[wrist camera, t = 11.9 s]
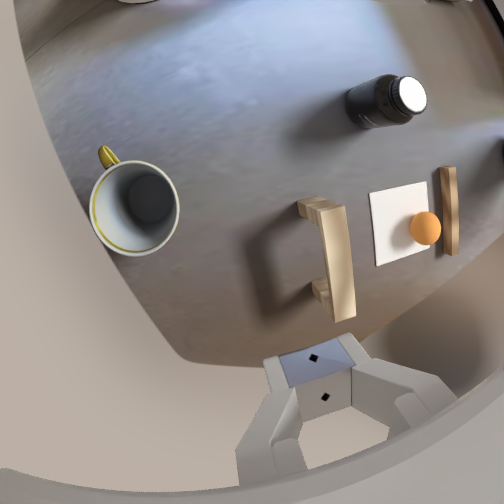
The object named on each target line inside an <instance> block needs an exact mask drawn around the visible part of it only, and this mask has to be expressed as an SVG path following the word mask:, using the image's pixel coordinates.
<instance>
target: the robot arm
mask: <svg viewBox="0 0 504 504" xmlns="http://www.w3.org/2000/svg"><path fill="white" fill-rule="evenodd" d="M119 1H122V2H127V3H142V2H148V1H153V0H119ZM263 365H264V369H265V372H266V376H267V380H268V384H269V387H270V391H271V394H267V395H266V397H265V399H264V400H263V402H262V404H261V406H260V408H259V410H258V411H257V413H256V415H255V417H254V418H253V420H252V422H251V424H250V426H249V427H248V429H247V431H246V432H245V434H244V436H243V437H242V439H241V441H240V442H239V444H238V446H237V447H236V449H235V452H236V461H237V469H238V477H239V486H233V487H226V488H218V489H209V490H198V491H183V492H131V491H116V490H105V489H96V488H89V487H82V486H76V485H70V484H65V483H60V482H55V481H51V480H47V479H42V478H39V477H35V476H31V475H28V474H24V473H21V472H18V471H15V470H12V469H8V468H2V469H0V504H504V365H503V366H501V367H500V368H499V369H498V370H497V371H495V372H494V373H493V374H492V375H491V376H489V377H488V378H487V379H485V380H484V381H483V382H481V383H480V384H479V385H478V386H476V387H475V388H474V389H472V390H471V391H469V392H468V393H467V394H465V395H464V396H462V397H461V398H459V399H458V398H457V397H456V396H455V395H454V394H453V393H452V392H451V390H450V389H449V388H448V387H447V386H446V385H445V384H444V383H443V382H442V381H441V380H440V378H439V377H437V376H436V375H432V374H428V373H425V372H421V371H418V370H414V369H411V368H407V367H403V366H400V365H397V364H394V363H390V362H387V361H383V360H381V359H377V358H374V359H371V358H370V357H369V356H368V354H367V353H366V352H365V350H364V349H363V348H362V346H361V345H360V344H359V343H358V341H357V340H356V339H355V338H354V336H353V335H352V334H351V333H349V332H348V333H346V334H343V335H340V336H338V337H335V338H333V339H330V340H327V341H325V342H322V343H319V344H316V345H312V346H309V347H306V348H302V349H299V350H295V351H292V352H288V353H284V354H280V355H278V356H274V357H270V358H266V359H263ZM349 406H352V407H353V408H355V409H357V410H359V411H361V412H362V413H364V414H366V415H368V416H370V417H372V418H373V419H375V420H377V421H379V422H381V423H383V424H385V425H387V426H389V427H390V428H389V433H388V437H387V440H386V441H383V442H381V443H379V444H377V445H375V446H372V447H370V448H368V449H365V450H363V451H361V452H358V453H356V454H353V455H350V456H348V457H345V458H343V459H340V460H337V461H334V462H331V463H329V464H325V465H322V466H319V467H316V468H313V469H310V470H308V469H307V466H306V463H305V461H304V457H303V455H302V451H301V449H300V446H299V443H298V437H299V434H300V431H301V428H302V425H303V422H306V421H309V420H312V419H315V418H317V417H320V416H323V415H326V414H329V413H331V412H335V411H338V410H341V409H344V408H346V407H349Z"/></svg>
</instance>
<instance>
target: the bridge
mask: <svg viewBox="0 0 504 504" xmlns="http://www.w3.org/2000/svg"><path fill="white" fill-rule="evenodd" d="M297 205H298V210H299V215H301V216H302V217H304V218H306V219H307V220H309V221H311V222H312V223H314V224H315V225H317V226H319V227H320V233H321V240H322V246H323V253H324V259H325V266H326V273H327V277H325V278H322V279H318V280H315V281H312V282H311V283H312V289H313V294H314V295H315V296H316V298H317V299H318V300H319V302H320V303H321V304H322V306H323V307H324V308H325V310H326V311H327V312H328V314H329V315H330V316H331V318H332V319H333V320H334V322H335V323H336V322H339V321H342V320H345V319H348V318H351V317H353V316H356V306H355V292H354V280H353V269H352V259H351V250H350V241H349V233H348V226H347V218H346V211H345V206H343V205H341V204H338V203H335V202H332V201H329V200H326V199H323V198H320V197H317V196H316V197H311V198H307V199H303V200H299V201H297Z"/></svg>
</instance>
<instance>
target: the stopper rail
mask: <svg viewBox="0 0 504 504" xmlns="http://www.w3.org/2000/svg"><path fill="white" fill-rule="evenodd" d="M439 170H440V179H441V191H442V206H443V252H444V253H446V254H448V255H450V256H453V255H455V254H458V245H459V212H458V190H457V177H456V167H450V166H444V167H439Z"/></svg>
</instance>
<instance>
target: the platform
mask: <svg viewBox="0 0 504 504" xmlns="http://www.w3.org/2000/svg"><path fill="white" fill-rule="evenodd" d="M430 1H431V0H425V2H426V3H427V4H428V3H429V2H430ZM447 1H454V2H458V1H461V0H447ZM467 1H473V0H467Z"/></svg>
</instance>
